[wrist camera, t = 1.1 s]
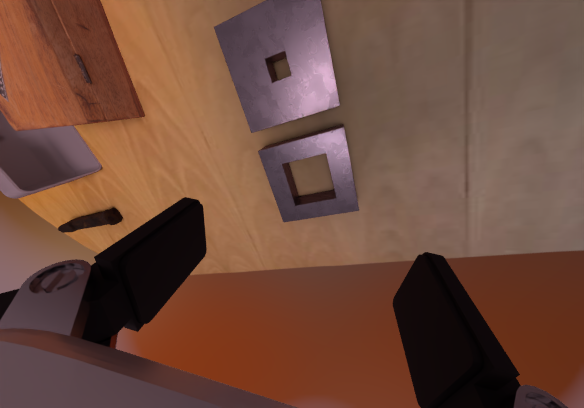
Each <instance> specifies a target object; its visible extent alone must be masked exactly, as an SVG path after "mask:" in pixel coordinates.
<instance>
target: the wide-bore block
mask: <svg viewBox="0 0 584 408" xmlns="http://www.w3.org/2000/svg"><path fill="white" fill-rule="evenodd" d="M258 152H259V155H260V158H261V161H262V163H263V166H264V169H265V172H266V175H267V177H268V180H269V183H270V186H271V189H272V191H273V194H274V197H275V200H276V203H277V205H278V208H279V211H280V214H281V217H282V219H283V222H289V221H295V220H302V219H308V218H314V217H321V216H327V215H333V214H340V213H346V212H353V211H359V207H358V201H357V196H356V190H355V185H354V180H353V174H352V169H351V163H350V158H349V152H348V147H347V142H346V136H345V131H344V125H343V124H342V125H338V126H335V127H331V128H328V129H324V130H321V131H317V132H314V133H310V134H307V135H303V136H300V137H296V138H292V139H289V140H285V141H282V142H278V143H275V144H271V145H268V146H265V147H263V148H262V149H261V150H259V151H258ZM324 153H326V154H327V158H328V163H329V167H330V171H331V176H332V180H333V185H334V189H335V190H330V191H325V192H320V193H315V194H309V195H304V196H299V195H298V192H297V189H296V186H295V182H294V179H293V176H292V173H291V169H290V166H289V163H288V162H292V161H296V160H300V159H304V158H308V157H312V156H316V155H320V154H324Z"/></svg>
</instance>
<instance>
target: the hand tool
mask: <svg viewBox="0 0 584 408" xmlns="http://www.w3.org/2000/svg"><path fill="white" fill-rule="evenodd" d="M122 218H123V217H122V216H121V214H120V212H119V211H118V210H117V209H115V208H112V209H110V210H105V211H104V212H99V213H95V214H92V215H88V216H81V217H78V218H76V219H74V220H71V221H69V222H67V223H65V224H63V225H61V226H59V227H58V230H59V231H61V232H74V231H76V230H79V229H84V228H90V227H96V226H102V225H107V224H110V225H115V224H117V223H119V222H121V221H122Z"/></svg>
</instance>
